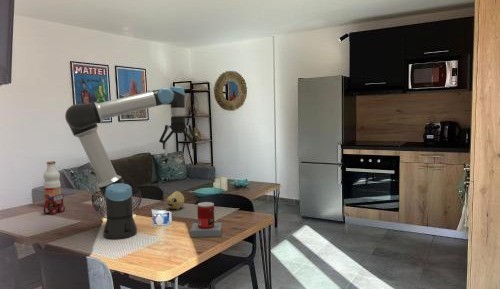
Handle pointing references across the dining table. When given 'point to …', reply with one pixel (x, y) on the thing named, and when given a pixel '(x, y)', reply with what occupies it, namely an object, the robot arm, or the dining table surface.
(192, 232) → the grey flat block
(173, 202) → the tan rounded lump
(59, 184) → the fruit juice
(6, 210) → the dining table surface
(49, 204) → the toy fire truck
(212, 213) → the canned food
